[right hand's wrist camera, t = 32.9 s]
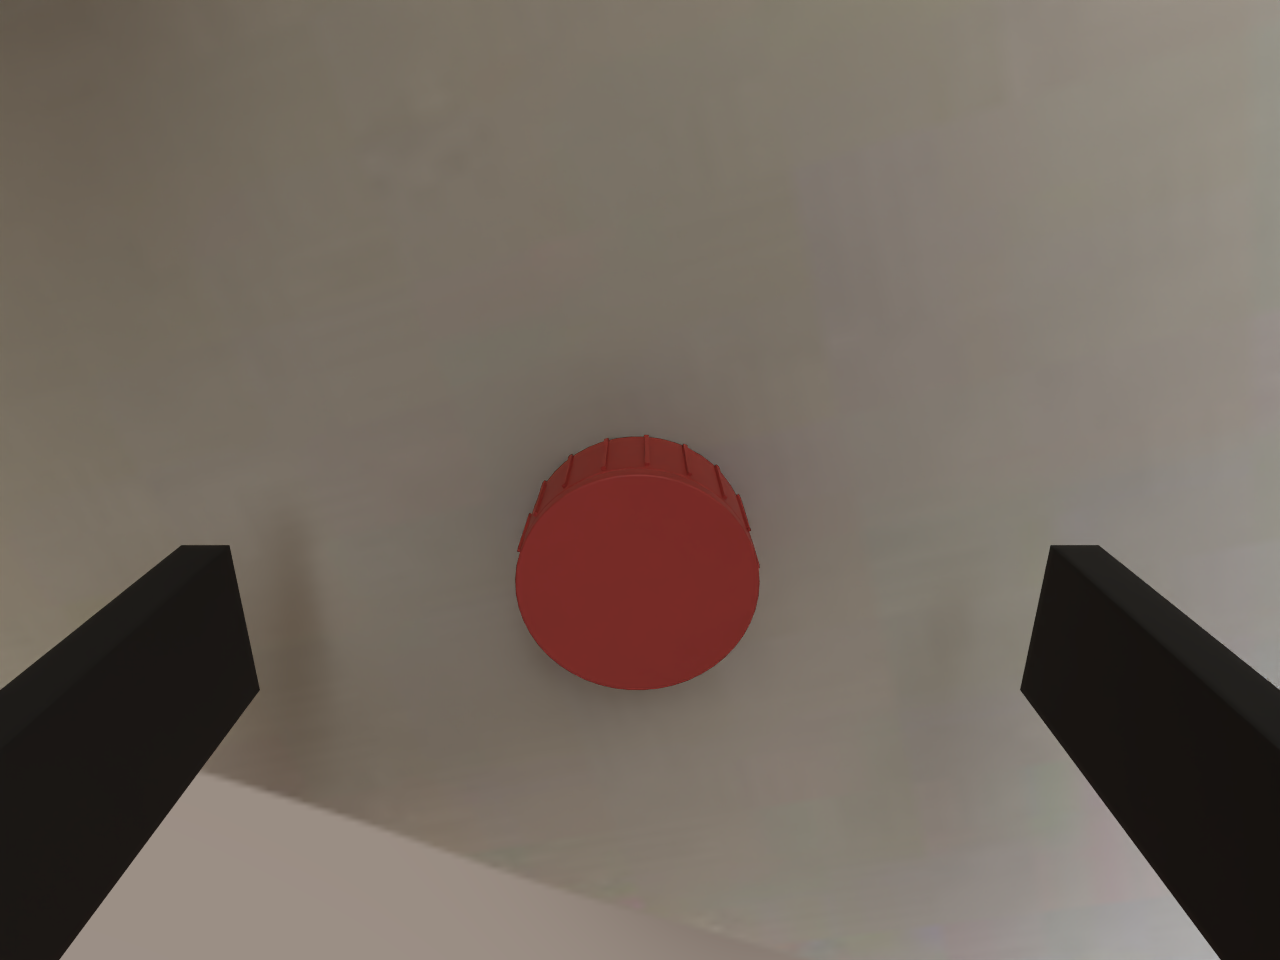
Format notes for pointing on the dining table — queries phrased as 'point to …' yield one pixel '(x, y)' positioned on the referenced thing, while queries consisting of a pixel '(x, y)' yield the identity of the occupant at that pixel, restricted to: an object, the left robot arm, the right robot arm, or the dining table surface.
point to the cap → (637, 565)
